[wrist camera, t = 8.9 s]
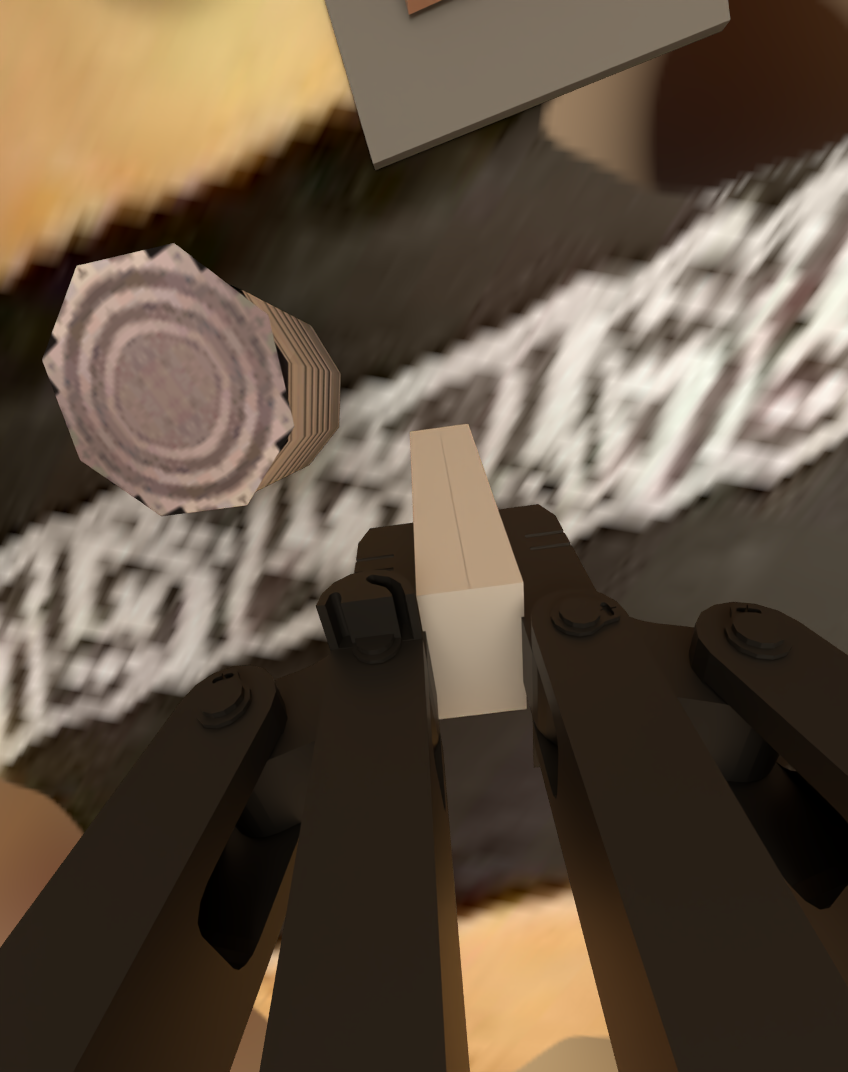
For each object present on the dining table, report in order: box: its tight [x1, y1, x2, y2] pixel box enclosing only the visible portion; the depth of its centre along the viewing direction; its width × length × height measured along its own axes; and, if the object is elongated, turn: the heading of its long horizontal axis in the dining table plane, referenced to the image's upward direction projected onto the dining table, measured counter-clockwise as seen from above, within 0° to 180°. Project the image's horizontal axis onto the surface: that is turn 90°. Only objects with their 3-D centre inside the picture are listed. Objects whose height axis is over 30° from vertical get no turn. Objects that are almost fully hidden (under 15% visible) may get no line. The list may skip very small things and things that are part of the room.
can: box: [42, 243, 341, 516], centre depth 27 cm, size 11×11×12 cm
